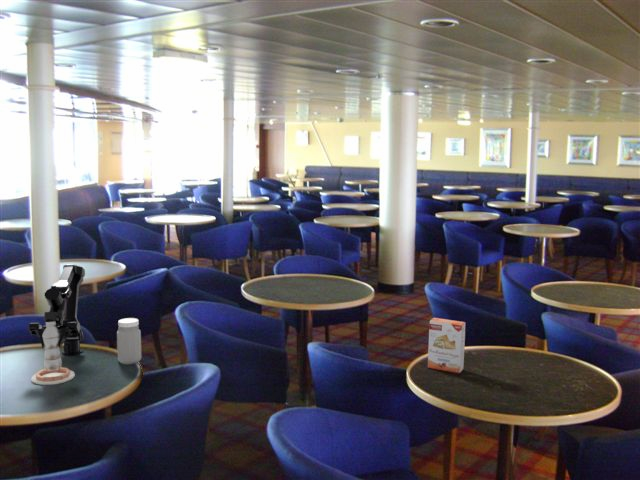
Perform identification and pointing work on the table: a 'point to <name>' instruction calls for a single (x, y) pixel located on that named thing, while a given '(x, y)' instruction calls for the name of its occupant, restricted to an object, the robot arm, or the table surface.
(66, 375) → the white orange plate
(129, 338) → the jar
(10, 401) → the table surface
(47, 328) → the plastic bottle
